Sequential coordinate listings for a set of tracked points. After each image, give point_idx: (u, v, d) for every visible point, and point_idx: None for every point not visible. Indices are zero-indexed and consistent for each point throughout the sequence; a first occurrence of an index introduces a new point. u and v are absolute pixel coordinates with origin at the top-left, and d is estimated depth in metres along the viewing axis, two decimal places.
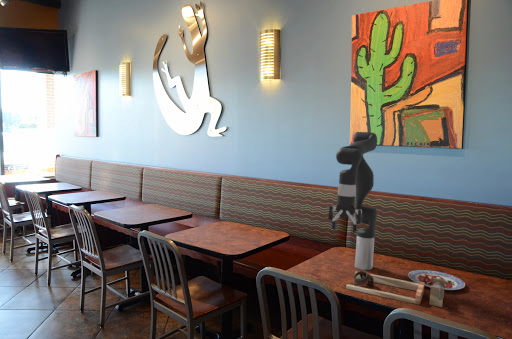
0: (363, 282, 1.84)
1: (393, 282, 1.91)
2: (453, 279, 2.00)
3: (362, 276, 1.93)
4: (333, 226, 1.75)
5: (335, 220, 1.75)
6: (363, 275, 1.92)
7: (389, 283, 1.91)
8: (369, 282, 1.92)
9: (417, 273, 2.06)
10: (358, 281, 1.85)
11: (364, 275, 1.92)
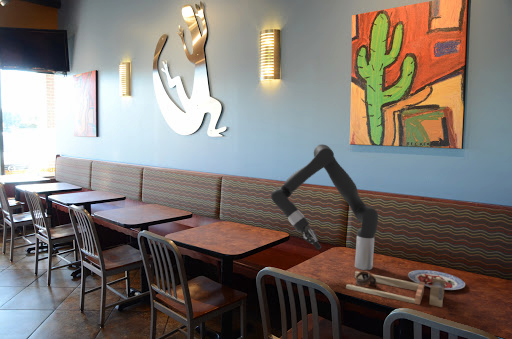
0: (365, 282, 1.84)
1: (393, 282, 1.91)
2: (453, 279, 2.00)
3: (364, 276, 1.92)
4: None
5: None
6: (365, 275, 1.92)
7: (389, 283, 1.91)
8: (371, 282, 1.91)
9: (417, 273, 2.06)
10: (360, 281, 1.85)
11: (366, 275, 1.92)
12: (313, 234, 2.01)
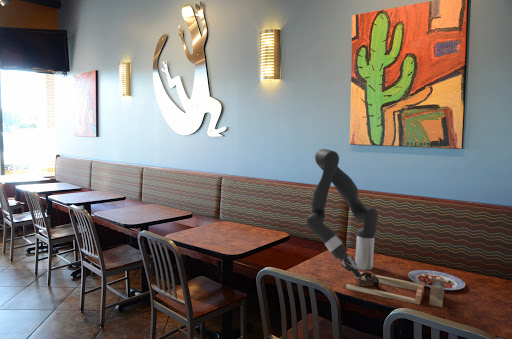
0: (369, 283, 1.83)
1: (393, 282, 1.91)
2: (453, 279, 2.00)
3: (367, 277, 1.92)
4: None
5: None
6: (368, 276, 1.91)
7: (389, 283, 1.91)
8: (374, 283, 1.91)
9: (417, 273, 2.06)
10: (364, 282, 1.84)
11: (369, 276, 1.91)
12: (352, 261, 1.93)
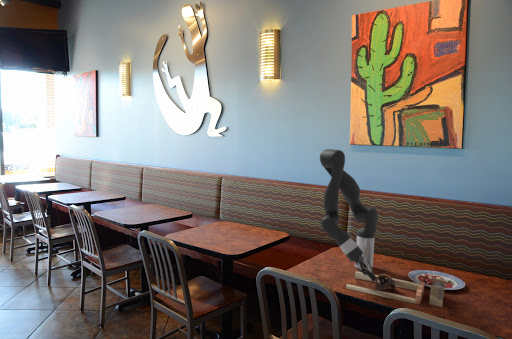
0: (387, 287, 1.80)
1: None
2: (453, 279, 2.00)
3: (381, 280, 1.88)
4: None
5: None
6: (382, 279, 1.88)
7: None
8: None
9: (417, 273, 2.06)
10: (382, 286, 1.80)
11: (383, 279, 1.88)
12: (367, 264, 1.89)
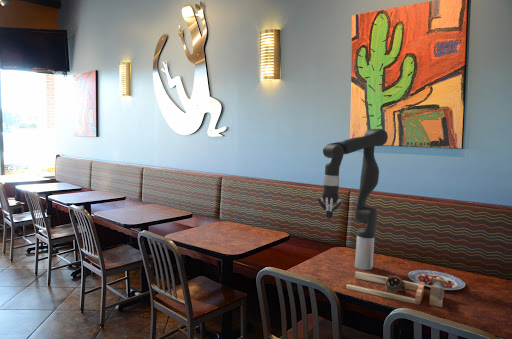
0: (398, 288, 1.78)
1: None
2: (453, 279, 2.00)
3: (391, 282, 1.87)
4: (327, 215, 2.00)
5: (329, 210, 2.00)
6: (392, 281, 1.86)
7: None
8: None
9: (417, 273, 2.06)
10: (393, 288, 1.79)
11: (393, 281, 1.86)
12: None
